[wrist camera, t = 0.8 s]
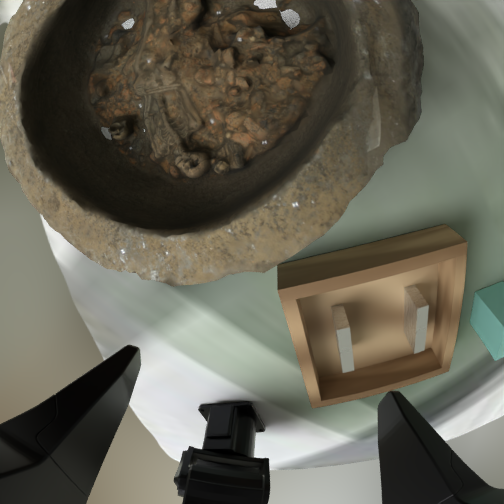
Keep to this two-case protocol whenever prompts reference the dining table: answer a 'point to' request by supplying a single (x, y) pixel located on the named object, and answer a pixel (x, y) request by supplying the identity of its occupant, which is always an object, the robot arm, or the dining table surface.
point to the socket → (413, 326)
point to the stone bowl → (203, 124)
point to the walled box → (374, 312)
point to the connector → (490, 318)
